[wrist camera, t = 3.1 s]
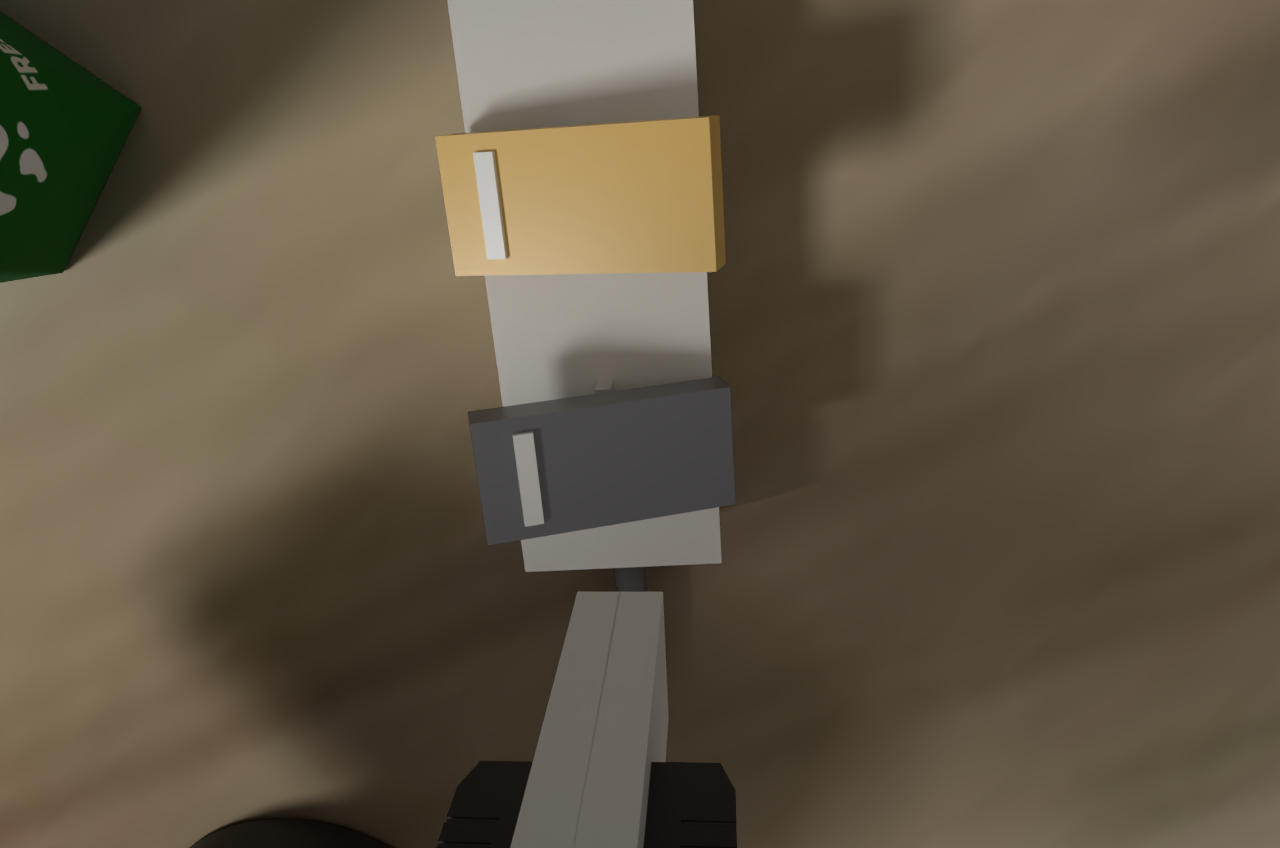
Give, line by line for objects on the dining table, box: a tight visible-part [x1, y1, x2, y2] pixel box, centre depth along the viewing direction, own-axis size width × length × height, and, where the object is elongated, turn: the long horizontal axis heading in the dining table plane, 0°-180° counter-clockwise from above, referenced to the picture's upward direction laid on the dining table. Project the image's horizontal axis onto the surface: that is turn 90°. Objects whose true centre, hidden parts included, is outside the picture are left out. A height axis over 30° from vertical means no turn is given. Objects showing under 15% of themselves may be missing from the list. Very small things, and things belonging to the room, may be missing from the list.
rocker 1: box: [435, 115, 726, 276], centre depth 26 cm, size 8×4×1 cm, turn 94°
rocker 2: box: [468, 376, 735, 546], centre depth 28 cm, size 8×4×1 cm, turn 94°
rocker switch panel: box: [447, 0, 722, 592], centre depth 30 cm, size 7×34×5 cm, turn 4°
